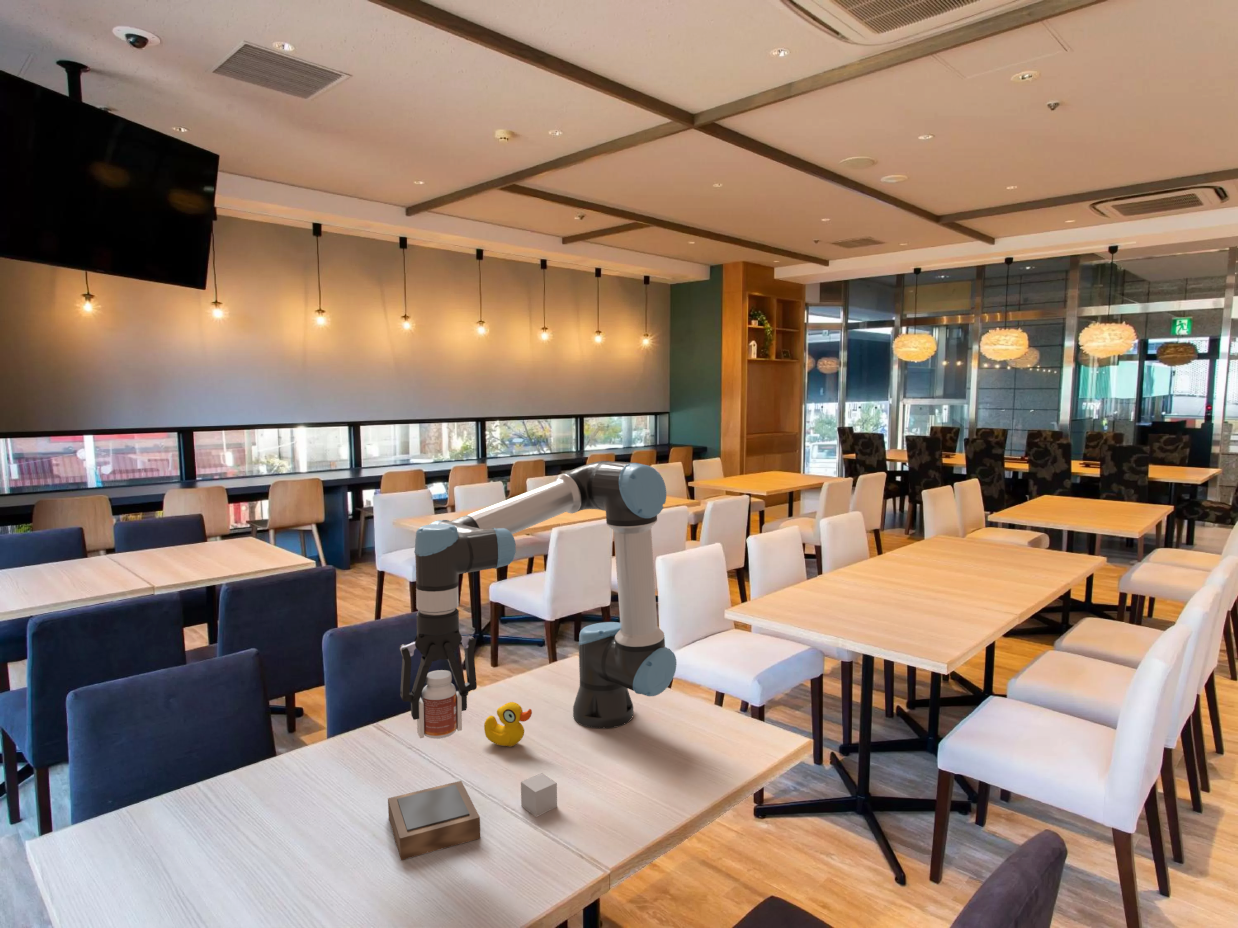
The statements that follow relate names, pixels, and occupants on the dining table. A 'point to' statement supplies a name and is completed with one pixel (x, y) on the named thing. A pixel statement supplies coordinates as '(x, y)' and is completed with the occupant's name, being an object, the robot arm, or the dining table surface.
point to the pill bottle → (439, 705)
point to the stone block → (538, 794)
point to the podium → (433, 819)
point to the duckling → (507, 725)
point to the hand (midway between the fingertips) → (439, 730)
